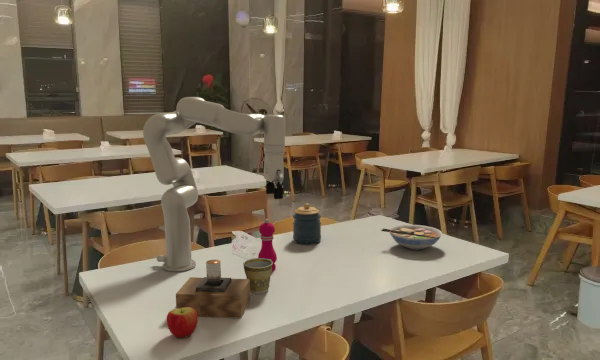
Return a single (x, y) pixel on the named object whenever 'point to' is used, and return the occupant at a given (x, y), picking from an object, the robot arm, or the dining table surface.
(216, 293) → the socket block
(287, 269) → the dining table surface
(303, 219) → the canister
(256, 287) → the ceramic cup
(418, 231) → the ramen bowl
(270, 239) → the pepper mill
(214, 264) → the peg
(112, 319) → the dining table surface
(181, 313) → the apple
